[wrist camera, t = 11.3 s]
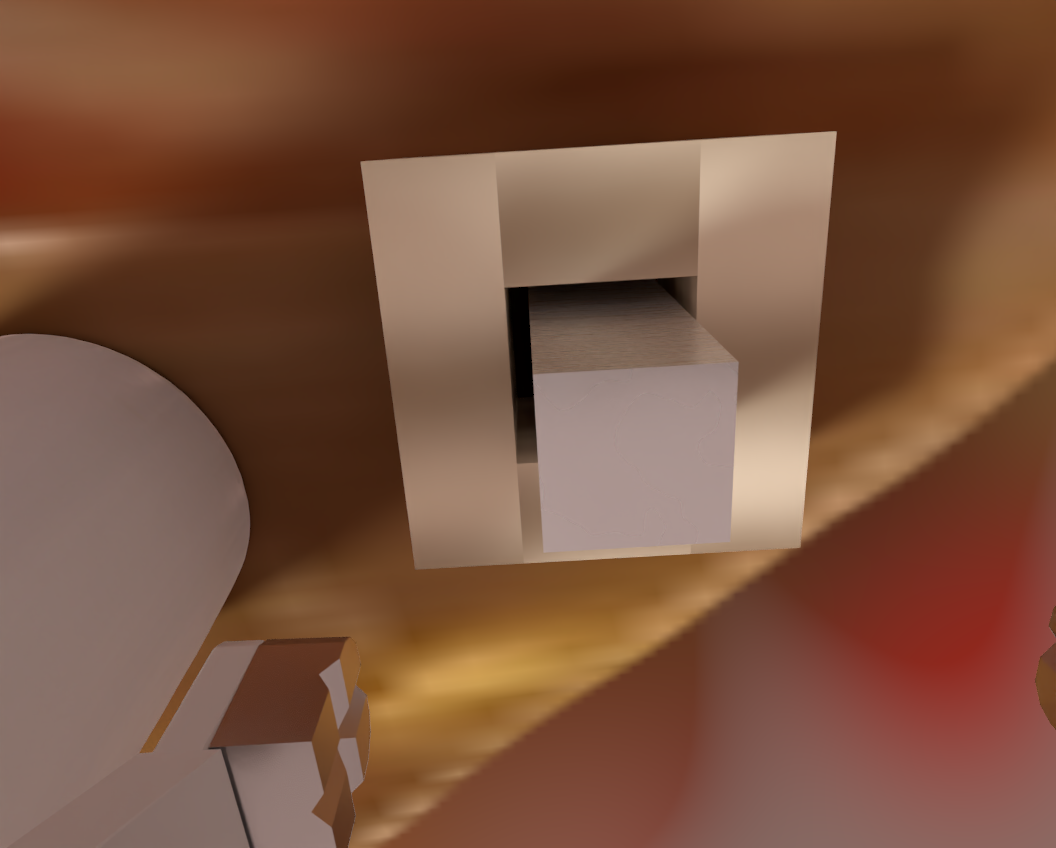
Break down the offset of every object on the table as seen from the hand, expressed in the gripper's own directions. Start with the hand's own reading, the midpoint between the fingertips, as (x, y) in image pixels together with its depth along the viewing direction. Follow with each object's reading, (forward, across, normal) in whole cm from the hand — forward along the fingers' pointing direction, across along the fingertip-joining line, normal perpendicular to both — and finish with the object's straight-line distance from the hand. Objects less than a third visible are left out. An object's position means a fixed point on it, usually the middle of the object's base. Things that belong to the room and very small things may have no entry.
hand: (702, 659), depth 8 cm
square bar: (+18, 0, +1) cm, 19 cm away
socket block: (+18, 0, +1) cm, 19 cm away
